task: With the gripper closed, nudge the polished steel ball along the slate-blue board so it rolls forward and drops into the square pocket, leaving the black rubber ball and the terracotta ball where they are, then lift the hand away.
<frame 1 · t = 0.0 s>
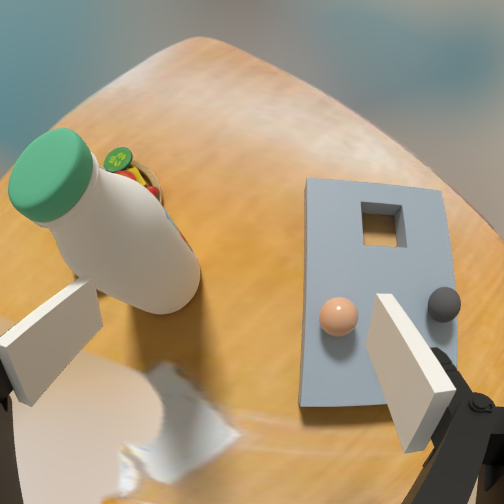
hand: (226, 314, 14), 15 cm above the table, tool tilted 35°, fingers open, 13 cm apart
board: (379, 291, 29), on the table
toy food set: (110, 213, 34), on the table
black ball: (444, 304, 24), point 4 cm above the table, touching board
terracotta ball: (338, 316, 24), point 4 cm above the table, touching board
milk bottle: (164, 277, 31), on the table
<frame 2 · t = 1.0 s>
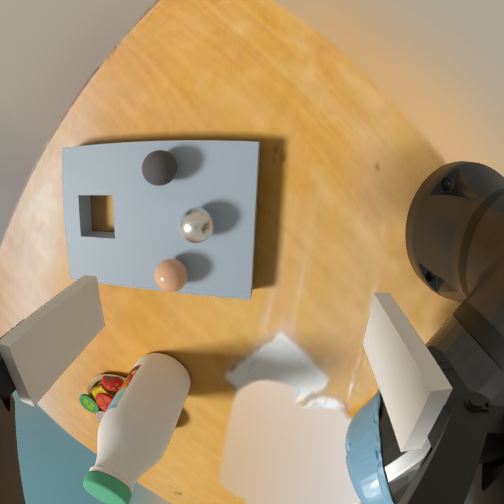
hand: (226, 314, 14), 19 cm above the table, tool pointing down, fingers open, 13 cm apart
board: (155, 213, 32), on the table
toy food set: (128, 403, 42), on the table
black ball: (159, 167, 27), point 4 cm above the table, touching board
steel ball: (196, 225, 28), point 4 cm above the table, touching board
terracotta ball: (171, 275, 30), point 4 cm above the table, touching board
milk bottle: (164, 373, 39), on the table
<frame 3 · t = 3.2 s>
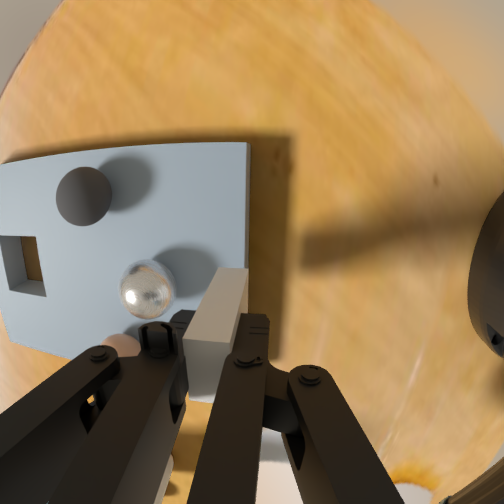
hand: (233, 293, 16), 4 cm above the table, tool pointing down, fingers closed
board: (99, 259, 21), on the table
black ball: (83, 196, 15), point 4 cm above the table, touching board
steel ball: (147, 289, 16), point 4 cm above the table, touching board
terracotta ball: (121, 358, 18), point 4 cm above the table, touching board
milk bottle: (140, 448, 27), on the table
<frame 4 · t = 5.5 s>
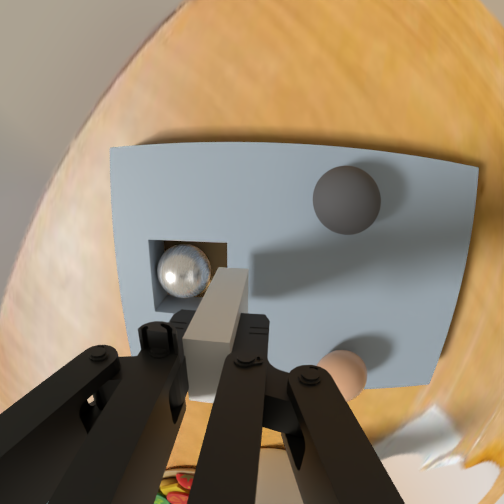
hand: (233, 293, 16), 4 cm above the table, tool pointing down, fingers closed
board: (294, 269, 20), on the table
toy food set: (205, 490, 29), on the table
black ball: (346, 200, 14), point 4 cm above the table, touching board
steel ball: (184, 271, 19), point 2 cm above the table, tilted 106°
terracotta ball: (340, 376, 17), point 4 cm above the table, touching board
milk bottle: (268, 465, 26), on the table
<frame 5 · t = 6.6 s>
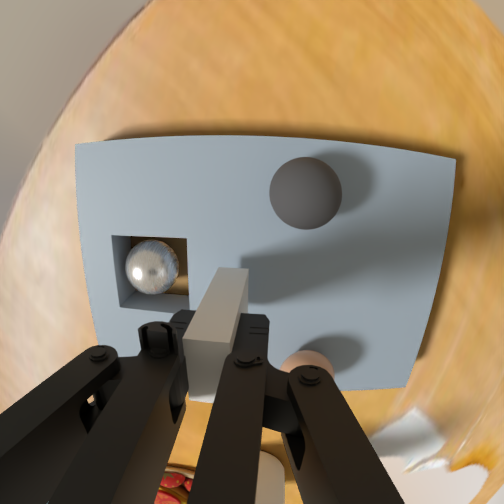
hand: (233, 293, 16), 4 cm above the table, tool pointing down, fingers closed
board: (259, 266, 19), on the table
toy food set: (185, 488, 29), on the table
black ball: (305, 193, 14), point 4 cm above the table, touching board
steel ball: (152, 267, 18), point 2 cm above the table, tilted 96°
terracotta ball: (306, 377, 17), point 4 cm above the table, touching board
milk bottle: (245, 465, 26), on the table
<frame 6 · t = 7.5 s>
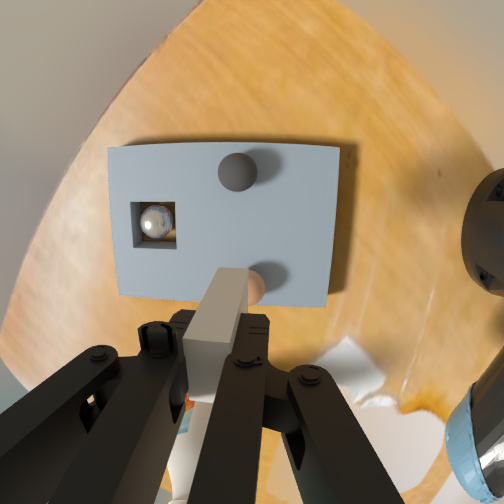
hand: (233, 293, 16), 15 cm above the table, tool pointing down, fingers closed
board: (220, 221, 31), on the table
black ball: (237, 172, 25), point 4 cm above the table, touching board
steel ball: (156, 221, 29), point 2 cm above the table, tilted 87°
terracotta ball: (247, 287, 28), point 4 cm above the table, touching board
milk bottle: (220, 386, 37), on the table
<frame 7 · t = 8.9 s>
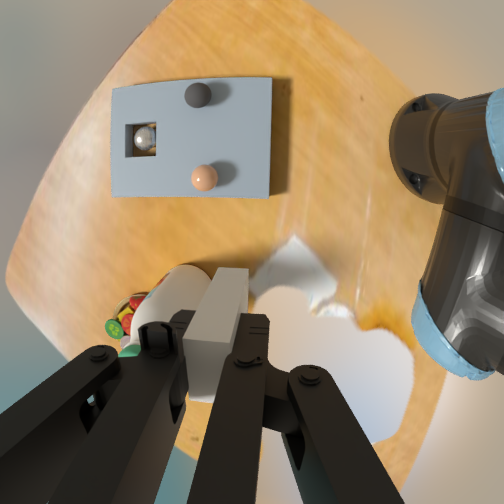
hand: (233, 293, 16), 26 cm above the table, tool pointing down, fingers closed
board: (189, 138, 39), on the table
toy food set: (151, 328, 49), on the table
black ball: (197, 95, 34), point 4 cm above the table, touching board
steel ball: (145, 138, 38), point 2 cm above the table, tilted 74°
terracotta ball: (204, 177, 36), point 4 cm above the table, touching board
milk bottle: (189, 287, 46), on the table
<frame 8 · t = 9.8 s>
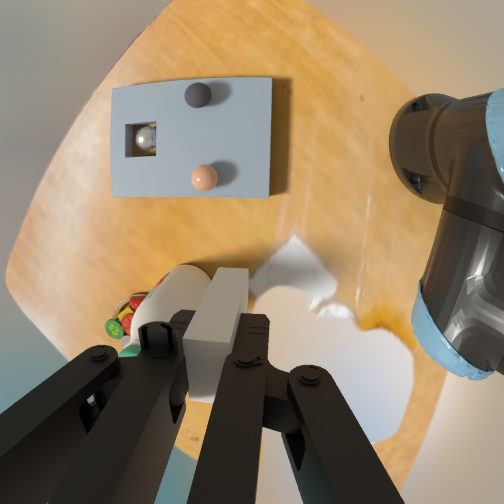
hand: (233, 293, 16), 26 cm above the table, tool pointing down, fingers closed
board: (189, 138, 39), on the table
toy food set: (151, 328, 49), on the table
black ball: (197, 95, 34), point 4 cm above the table, touching board
steel ball: (147, 138, 38), point 2 cm above the table, tilted 65°
terracotta ball: (204, 177, 36), point 4 cm above the table, touching board
milk bottle: (189, 287, 46), on the table
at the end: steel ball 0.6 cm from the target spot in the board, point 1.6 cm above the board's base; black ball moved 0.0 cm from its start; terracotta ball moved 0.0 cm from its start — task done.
